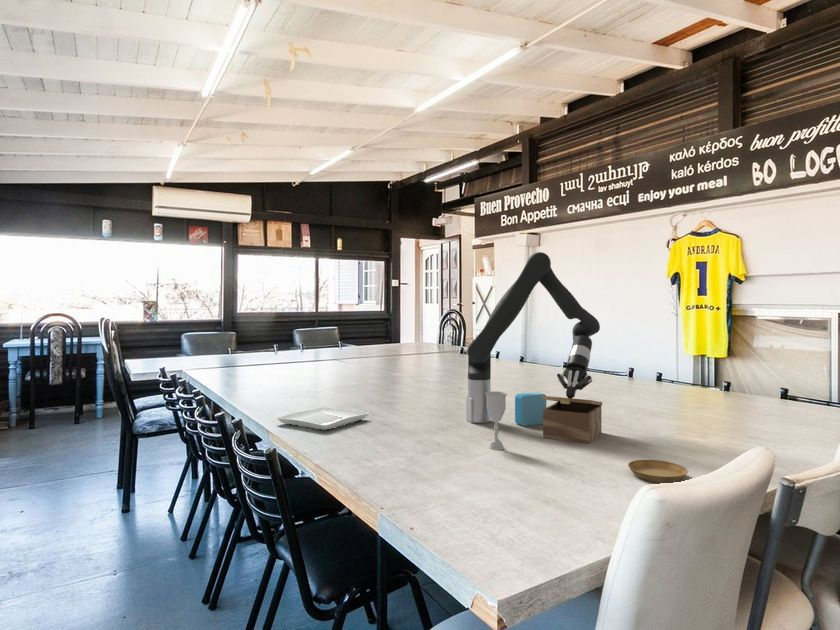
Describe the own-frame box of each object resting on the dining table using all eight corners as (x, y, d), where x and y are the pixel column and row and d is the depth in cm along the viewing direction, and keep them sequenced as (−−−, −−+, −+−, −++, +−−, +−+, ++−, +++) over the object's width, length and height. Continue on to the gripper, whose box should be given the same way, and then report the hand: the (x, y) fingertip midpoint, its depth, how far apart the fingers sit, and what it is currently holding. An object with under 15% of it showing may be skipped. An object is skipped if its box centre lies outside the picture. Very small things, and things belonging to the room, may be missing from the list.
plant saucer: (660, 489, 127) (660, 479, 127) (616, 472, 141) (616, 463, 141) (700, 481, 133) (700, 471, 133) (654, 465, 147) (654, 456, 147)
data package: (539, 421, 204) (539, 392, 204) (546, 423, 200) (546, 393, 200) (514, 424, 200) (514, 394, 200) (521, 426, 196) (521, 395, 196)
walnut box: (558, 427, 194) (558, 401, 194) (601, 432, 186) (601, 405, 185) (543, 437, 179) (543, 409, 179) (589, 443, 170) (589, 414, 170)
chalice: (509, 445, 168) (508, 392, 168) (505, 451, 162) (505, 395, 161) (487, 444, 170) (487, 391, 170) (483, 449, 164) (482, 394, 164)
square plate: (371, 420, 209) (371, 411, 209) (325, 434, 186) (325, 424, 186) (322, 414, 223) (322, 405, 223) (274, 426, 200) (274, 416, 200)
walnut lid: (557, 403, 194) (557, 398, 194) (602, 407, 185) (602, 402, 185) (541, 401, 178) (541, 395, 178) (589, 405, 169) (589, 399, 169)
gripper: (558, 352, 190) (548, 389, 180) (595, 354, 183) (586, 392, 173) (563, 365, 195) (553, 402, 184) (598, 367, 188) (590, 405, 177)
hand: (569, 397), depth 179 cm, fingers closed
